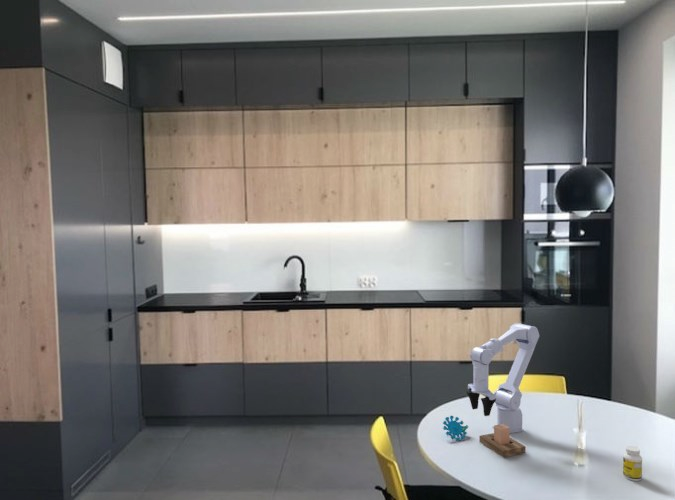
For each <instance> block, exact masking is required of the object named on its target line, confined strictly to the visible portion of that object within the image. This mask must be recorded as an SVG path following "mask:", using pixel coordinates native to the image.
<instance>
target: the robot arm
mask: <svg viewBox="0 0 675 500" xmlns="http://www.w3.org/2000/svg"><path fill="white" fill-rule="evenodd" d="M539 338H540V333H539V330H538V328H537V327H536V326H533V325H532V326H531V325H528V324H525V323H524V324H523V323H519V322H515V323H513V324H512V325H510V326H509V329H508V330H507V331H506V332H504V334H502V335H501V336H499V338H496V337H495V338H490V339H489V340H488V341H487V342H485V343H484V344H482V345H481V346H480V347H478V346H476V347H474V348H472V349H471V352H470V354H469V357H470V359H471V361H472V362H471V363H472V367H473V371H472V372H473V373H472V374H473V380H472V381H473V383H468V384H467V390H466V394H467V396H468V398H469V401H470V405H471V406H470V407H471V409H472V410H477V409H478V408H479V400H480V401H481V402H482V403H481V404H482V407H483V416H484V417H489V416H490V414H491V412H492V409H493V406H494V403H495V406H496V408H497V413H496V414H497V417H496V418H497V423H496V425H500V424H504V425H506V426H507V427H509V428H510V434H513V433H519V432H523V431H524V428H523V413H522V410H521V408H520V406H521V401H522V400H521V399H522V396H523V394H522V392H521V390H520V386H521V384H522V381H523V378H524V375H525V373H526V371H527V368H528V366H529V363H530V361H531V359H532V356H533V354H534V351H535V348H536V345H537V343H538V341H539ZM514 341H515V343H516V344H517V345H518V347H519V349H518V351H517V353H516V356H515V359H514V360H513V363H512V365H511V368H510V370H509V373H508V375H507V377H506V381H505V382H503V383H500V384H499V385H498V387H497V389H496V390H495V391H494V392H492V391H491V390H490V389H489V364H490V363H491V362H492V360H493V358H494V357H495V356H496V355H498V354H499V353H500V352H502V351H503V349H504V346H507V345H508V344H510V343H512V342H514ZM480 395H481V396H483V397H482V398H480ZM492 428H494V425H492Z"/></svg>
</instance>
